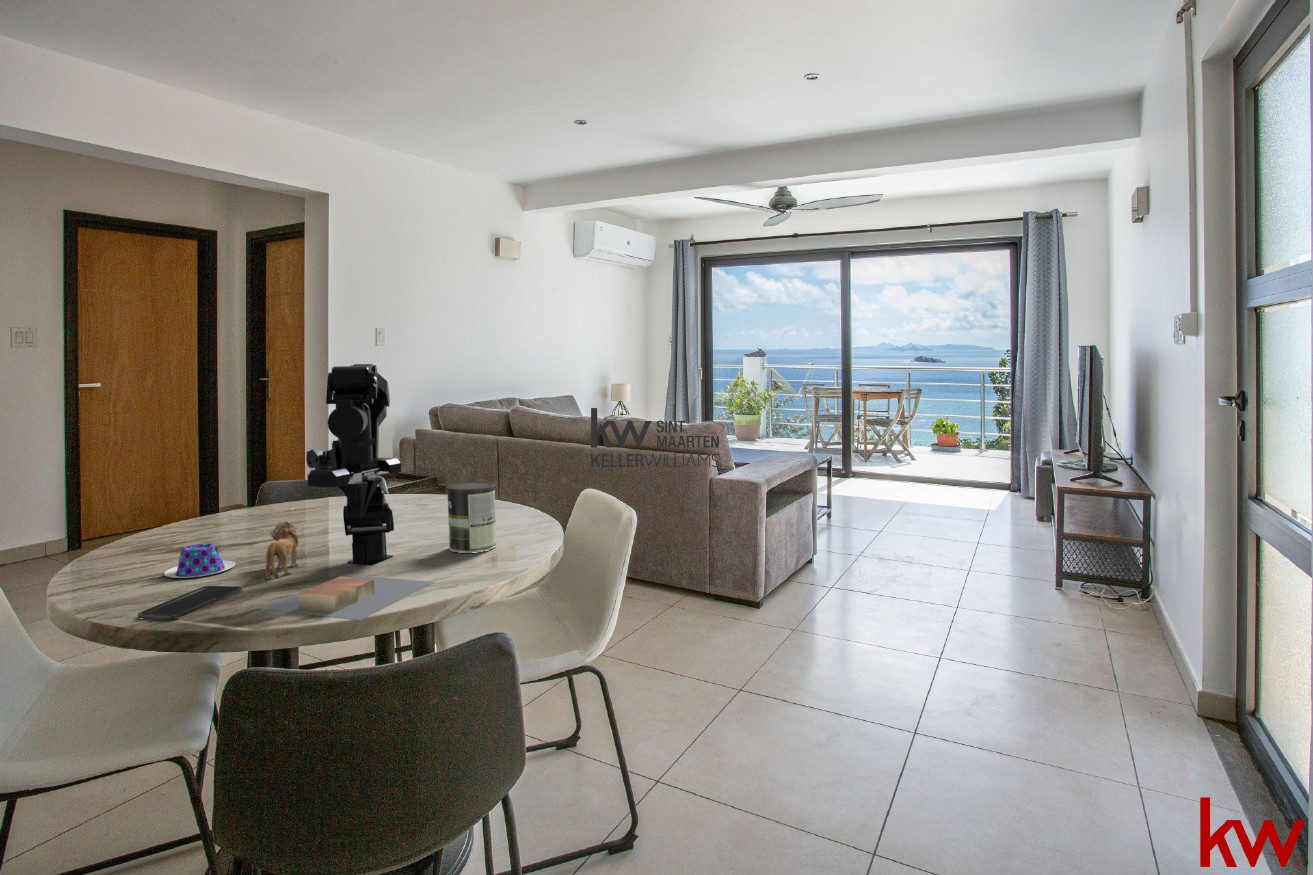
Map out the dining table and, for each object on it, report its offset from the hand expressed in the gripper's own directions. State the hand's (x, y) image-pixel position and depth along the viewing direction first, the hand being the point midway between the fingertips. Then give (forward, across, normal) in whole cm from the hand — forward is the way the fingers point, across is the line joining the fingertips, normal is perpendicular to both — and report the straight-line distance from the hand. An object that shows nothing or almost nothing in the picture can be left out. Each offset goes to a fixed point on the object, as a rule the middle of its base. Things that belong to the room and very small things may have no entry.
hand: (359, 517), depth 131 cm
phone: (+13, +19, -19) cm, 30 cm away
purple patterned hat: (+12, +3, -36) cm, 38 cm away
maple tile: (+10, +7, +5) cm, 14 cm away
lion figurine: (+12, -1, -20) cm, 24 cm away
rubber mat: (+12, +9, +5) cm, 16 cm away
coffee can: (+12, -26, +8) cm, 30 cm away
